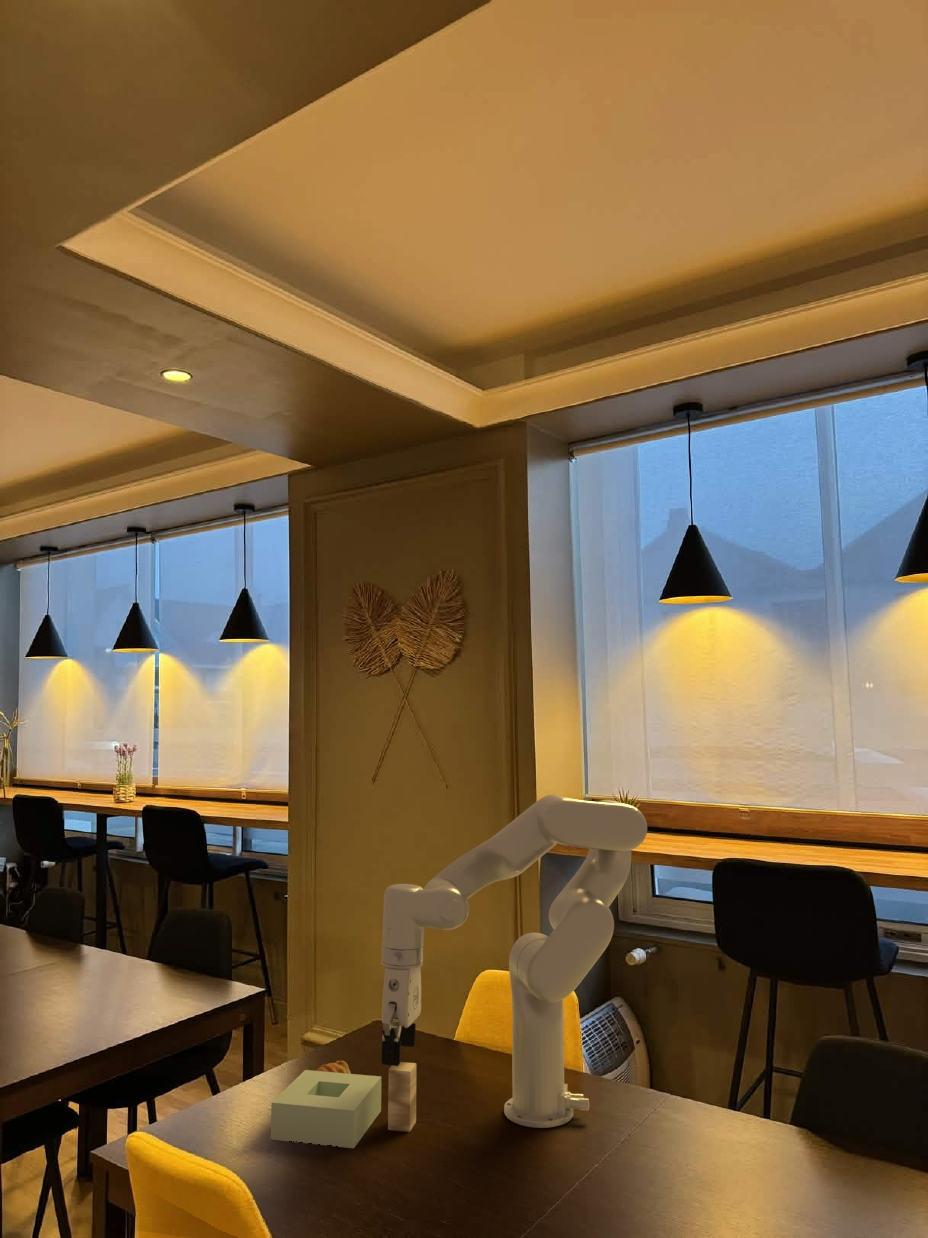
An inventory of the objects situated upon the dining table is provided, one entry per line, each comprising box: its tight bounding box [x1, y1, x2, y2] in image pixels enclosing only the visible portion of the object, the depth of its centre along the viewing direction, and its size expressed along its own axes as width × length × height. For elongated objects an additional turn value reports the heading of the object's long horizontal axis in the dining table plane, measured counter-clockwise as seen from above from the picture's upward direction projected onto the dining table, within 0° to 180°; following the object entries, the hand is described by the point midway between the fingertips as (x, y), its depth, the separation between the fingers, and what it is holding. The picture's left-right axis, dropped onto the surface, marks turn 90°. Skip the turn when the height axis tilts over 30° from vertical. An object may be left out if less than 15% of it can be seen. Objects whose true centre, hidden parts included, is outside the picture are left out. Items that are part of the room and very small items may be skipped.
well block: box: [270, 1069, 382, 1149], centre depth 159 cm, size 15×15×6 cm
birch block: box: [387, 1061, 417, 1133], centre depth 159 cm, size 4×4×10 cm
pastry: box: [314, 1060, 352, 1074], centre depth 177 cm, size 9×7×4 cm
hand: (398, 1055), depth 160 cm, fingers open, 9 cm apart
